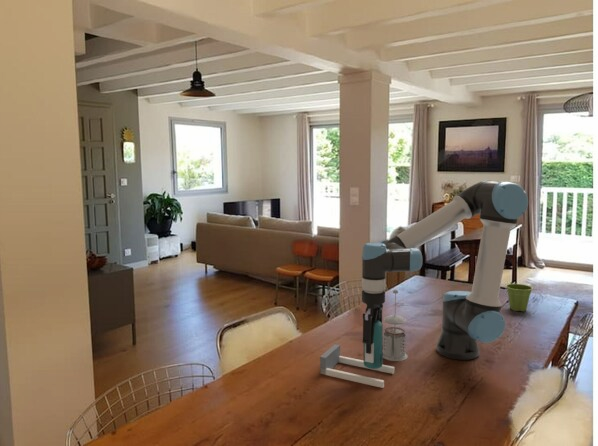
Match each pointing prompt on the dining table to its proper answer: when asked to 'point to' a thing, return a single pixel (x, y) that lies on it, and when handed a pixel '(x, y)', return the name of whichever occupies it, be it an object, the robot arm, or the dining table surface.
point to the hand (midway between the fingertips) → (372, 358)
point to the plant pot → (518, 296)
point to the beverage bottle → (376, 346)
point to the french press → (394, 338)
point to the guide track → (333, 358)
